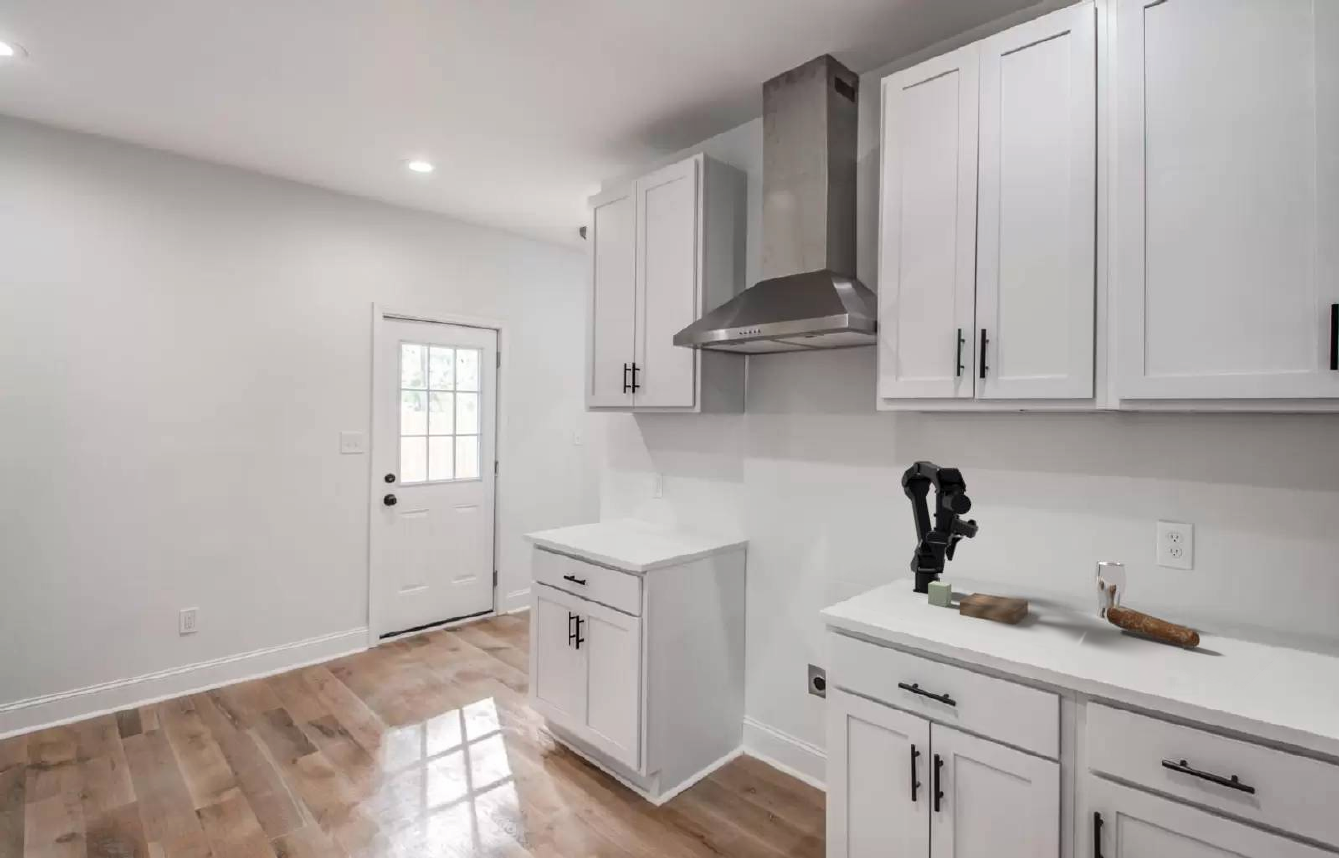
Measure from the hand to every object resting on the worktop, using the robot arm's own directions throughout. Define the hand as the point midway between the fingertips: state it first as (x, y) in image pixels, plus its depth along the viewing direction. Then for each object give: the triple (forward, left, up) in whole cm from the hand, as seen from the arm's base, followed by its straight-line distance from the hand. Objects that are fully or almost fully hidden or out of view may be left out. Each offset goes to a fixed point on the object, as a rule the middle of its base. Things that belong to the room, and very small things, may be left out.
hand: (945, 563), depth 192 cm
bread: (+46, +1, -14) cm, 48 cm away
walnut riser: (+14, -2, -13) cm, 19 cm away
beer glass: (+39, +15, -12) cm, 43 cm away
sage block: (-1, -1, -12) cm, 12 cm away
